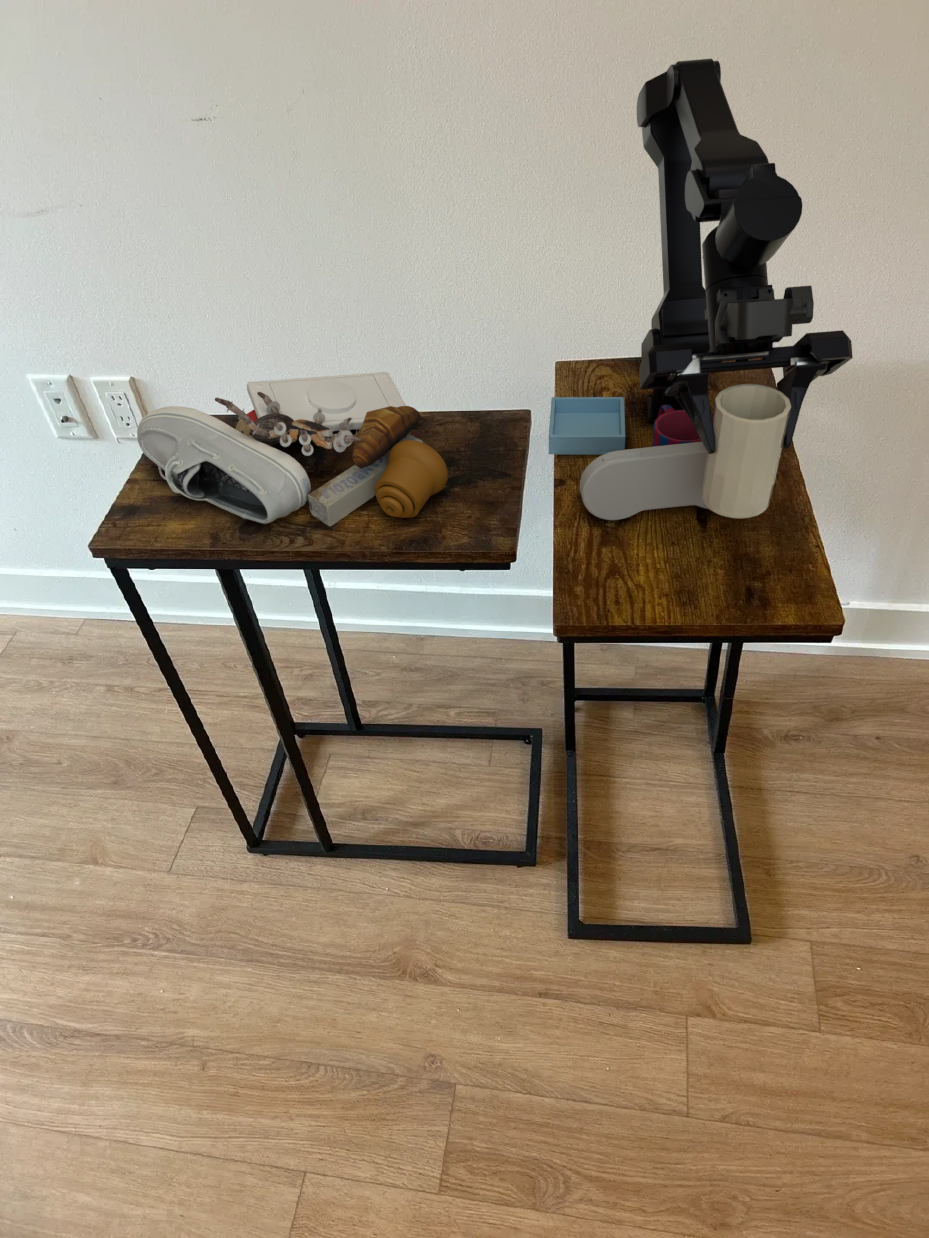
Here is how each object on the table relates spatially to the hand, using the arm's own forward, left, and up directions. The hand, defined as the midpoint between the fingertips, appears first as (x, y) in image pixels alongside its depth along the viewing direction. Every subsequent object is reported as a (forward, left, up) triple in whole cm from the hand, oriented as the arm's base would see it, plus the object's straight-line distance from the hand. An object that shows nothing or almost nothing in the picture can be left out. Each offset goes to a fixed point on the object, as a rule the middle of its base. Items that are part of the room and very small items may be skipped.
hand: (748, 450), depth 84 cm
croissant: (-13, -37, -8) cm, 40 cm away
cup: (-16, -5, -13) cm, 22 cm away
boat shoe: (-13, -58, -10) cm, 60 cm away
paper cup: (-1, 0, -7) cm, 7 cm away
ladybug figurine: (-23, -56, -13) cm, 62 cm away
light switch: (-21, -57, -8) cm, 61 cm away
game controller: (-8, -6, -13) cm, 17 cm away
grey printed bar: (-13, -44, -11) cm, 47 cm away
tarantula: (-15, -48, -5) cm, 51 cm away
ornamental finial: (-9, -39, -11) cm, 42 cm away
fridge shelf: (-23, -15, -13) cm, 31 cm away
